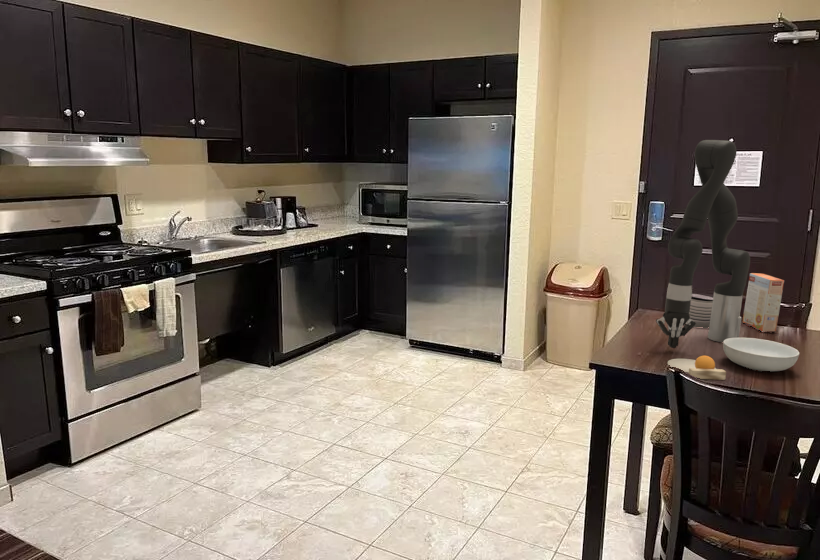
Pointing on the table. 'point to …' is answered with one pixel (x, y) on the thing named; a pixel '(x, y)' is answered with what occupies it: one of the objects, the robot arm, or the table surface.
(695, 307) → the can
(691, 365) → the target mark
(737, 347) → the serving bowl
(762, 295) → the cracker box
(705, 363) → the ball
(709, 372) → the stopper strip
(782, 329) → the table surface
